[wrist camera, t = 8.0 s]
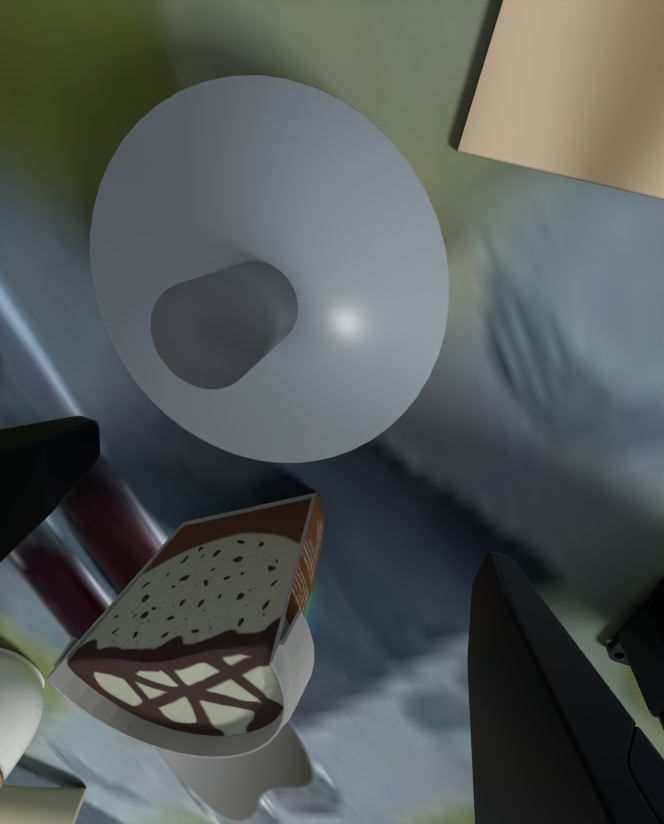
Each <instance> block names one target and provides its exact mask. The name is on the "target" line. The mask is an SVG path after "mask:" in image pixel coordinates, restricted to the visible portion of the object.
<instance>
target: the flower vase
mask: <svg viewBox="0 0 664 824" xmlns="http://www.w3.org/2000/svg"><path fill="white" fill-rule="evenodd" d="M86 788H87V787H33V786H17V785H5V784H3V785H2V787H1V788H0V824H75V821H76V819H77V816H78V813H79V811H80V808H81V805H82V802H83V799H84V796H85V793H86Z"/></svg>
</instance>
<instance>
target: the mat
mask: <svg viewBox="0 0 664 824" xmlns="http://www.w3.org/2000/svg"><path fill="white" fill-rule="evenodd" d="M457 152H462V153H466V154H470V155H475V156H479V157H483V158H487V159H492V160H496V161H500V162H505V163H509V164H513V165H517V166H522V167H526V168H530V169H535V170H539V171H543V172H547V173H552V174H556V175H560V176H564V177H569V178H573V179H577V180H582V181H586V182H590V183H594V184H599V185H603V186H607V187H612V188H616V189H620V190H624V191H629V192H633V193H637V194H641V195H646V196H650V197H654V198H659V199H663V200H664V0H503V2H502V6H501V9H500V12H499V16H498V19H497V22H496V25H495V29H494V32H493V35H492V39H491V42H490V45H489V48H488V52H487V55H486V58H485V62H484V65H483V68H482V72H481V75H480V78H479V81H478V85H477V88H476V91H475V95H474V98H473V101H472V104H471V108H470V111H469V114H468V118H467V121H466V124H465V128H464V131H463V134H462V137H461V141H460V144H459V147H458V151H457Z"/></svg>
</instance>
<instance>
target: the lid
mask: <svg viewBox="0 0 664 824" xmlns="http://www.w3.org/2000/svg"><path fill="white" fill-rule="evenodd" d="M90 264H91V274H92V282H93V287H94V292H95V296H96V301H97V305H98V308H99V311H100V314H101V317H102V320H103V323H104V326H105V329H106V331H107V333H108V335H109V338H110V340H111V342H112V344H113V346H114V348H115V350H116V352H117V354H118V355H119V357H120V359H121V361H122V362H123V364H124V366H125V367H126V369H127V370H128V372H129V373H130V375H131V376H132V377H133V379H134V380H135V382H136V383H137V384H138V386H139V387H140V388H141V389H142V390H143V391H144V393H145V394H146V395H147V396H148V397H149V398H150V399H151V401H152V402H153V403H155V404H156V405H157V406H158V407H159V408H160V409H161V410H162V411H163V412H164V413H165V414H166V415H167V416H168V417H170V418H171V419H172V420H174V421H175V422H176V423H177V424H179V425H180V426H181V427H183V428H184V429H186V430H187V431H189V432H190V433H192V434H193V435H195V436H197V437H198V438H200V439H202V440H204V441H206V442H208V443H210V444H212V445H214V446H216V447H218V448H220V449H223V450H225V451H228V452H231V453H233V454H236V455H239V456H243V457H247V458H251V459H255V460H261V461H269V462H276V463H300V462H310V461H317V460H322V459H326V458H331V457H335V456H337V455H340V454H343V453H346V452H348V451H351V450H353V449H355V448H357V447H359V446H361V445H363V444H365V443H367V442H369V441H371V440H372V439H374V438H375V437H376V436H378V435H379V434H381V433H382V432H383V431H385V430H386V429H388V428H389V427H390V426H391V425H392V424H393V423H394V422H395V421H396V420H397V419H398V418H399V417H401V416H402V415H403V414H404V412H405V411H406V410H407V409H408V408H409V406H410V405H411V404H412V403H413V401H414V400H415V399H416V398H417V396H418V395H419V393H420V391H421V390H422V388H423V386H424V385H425V383H426V382H427V380H428V378H429V376H430V374H431V372H432V369H433V367H434V365H435V363H436V360H437V358H438V356H439V352H440V349H441V345H442V342H443V338H444V334H445V331H446V324H447V316H448V309H449V272H448V264H447V256H446V249H445V245H444V241H443V237H442V233H441V230H440V226H439V222H438V219H437V216H436V214H435V211H434V209H433V207H432V204H431V202H430V199H429V197H428V194H427V192H426V191H425V189H424V187H423V186H422V184H421V182H420V180H419V179H418V177H417V175H416V174H415V172H414V170H413V168H412V167H411V166H410V164H409V163H408V162H407V160H406V159H405V158H404V157H403V155H402V154H401V153H400V151H399V150H398V149H397V148H396V146H395V145H394V144H393V143H392V141H391V140H390V139H389V138H387V137H386V136H385V135H384V134H383V133H382V132H381V131H380V130H379V129H378V128H377V127H376V126H375V125H374V124H373V123H372V122H371V121H370V120H369V119H367V118H366V117H364V116H363V115H362V114H360V113H359V112H357V111H356V110H355V109H353V108H352V107H350V106H349V105H348V104H346V103H345V102H343V101H341V100H339V99H337V98H335V97H333V96H331V95H329V94H327V93H325V92H323V91H321V90H319V89H317V88H314V87H311V86H308V85H305V84H302V83H299V82H295V81H292V80H289V79H283V78H276V77H269V76H262V75H245V76H228V77H223V78H218V79H214V80H209V81H204V82H202V83H199V84H197V85H194V86H191V87H189V88H186V89H184V90H181V91H179V92H177V93H176V94H174V95H173V96H171V97H169V98H168V99H166V100H164V101H163V102H161V103H160V104H158V105H157V106H155V107H154V108H153V109H152V110H151V111H150V112H149V113H147V114H146V115H145V116H144V117H143V118H142V119H141V120H139V121H138V122H137V124H136V125H135V126H134V127H133V128H132V130H131V131H130V132H129V133H128V134H127V136H126V137H125V138H124V139H123V141H122V142H121V144H120V145H119V147H118V149H117V150H116V152H115V154H114V155H113V157H112V159H111V160H110V162H109V164H108V166H107V169H106V171H105V174H104V176H103V179H102V181H101V183H100V186H99V189H98V193H97V197H96V201H95V205H94V209H93V215H92V223H91V231H90Z"/></svg>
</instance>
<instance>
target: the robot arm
mask: <svg viewBox="0 0 664 824" xmlns="http://www.w3.org/2000/svg"><path fill="white" fill-rule="evenodd" d="M99 454H100V436H99V425H98V423H97V422H96V421H95V420H92V419H89V418H86V417H83V416H74V417H68V418H62V419H56V420H51V421H45V422H39V423H34V424H28V425H22V426H16V427H11V428H5V429H0V562H1V561H2V560H3V559H4V558H5V557H6V556H7V555H8V554H9V553H11V552H12V551H13V550H14V549H15V548H16V547H17V546H18V545H19V544H20V543H21V542H22V541H23V540H24V539H25V538H26V537H27V536H28V535H29V534H30V533H31V532H32V531H33V530H34V529H35V528H37V527H38V526H39V525H40V524H41V523H42V522H43V521H44V520H45V519H46V518H47V517H48V516H49V515H50V514H51V513H52V512H53V511H54V509H55V508H56V507H57V506H58V505H59V504H60V503H61V502H62V501H63V499H64V498H65V497H66V496H67V495H68V494H69V492H70V491H71V490H72V489H73V488H74V486H75V485H76V484H77V483H78V482H79V481H80V479H81V478H82V477H83V476H84V475H85V474H86V472H87V471H88V470H89V469H90V468H91V467H92V465H93V464H94V463H95V462H96V460H97V459H98V457H99ZM606 649H607V653H608V655H609V657H610V659H612V660H614V661H616V662H619V663H622V664H625V665H628V666H630V667H631V669H632V671H633V674H634V676H635V678H636V681H637V683H638V686H639V688H640V690H641V693H642V695H643V697H644V700H645V702H646V705H647V707H648V709H649V711H650V713H651V714H652V716H654V717H657V718H659V720H660V723H661V725H662V727H663V729H664V579H663V580H662V582H661V583H660V584H659V585H658V586H657V588H656V589H655V590H654V591H653V592H652V593H651V595H650V596H649V597H648V598H647V599H646V601H645V602H644V603H643V604H642V605H641V606H640V608H639V609H638V610H637V611H636V612H635V614H634V615H633V616H632V617H631V618H630V620H629V621H628V622H627V623H626V624H625V625H624V627H623V628H622V629H621V630H620V631H619V633H618V634H617V635H616V636H615V637H614V638H613V640H612V641H611V642H610V643H609V644H608V646H607V648H606ZM468 686H469V707H470V728H471V749H472V769H473V790H474V811H475V824H664V759H663V758H662V757H661V755H660V754H659V753H658V751H657V750H656V749H655V747H654V746H653V745H652V743H651V742H650V741H649V739H648V738H647V737H646V735H645V734H644V733H643V731H642V730H641V729H640V728H639V727H635V726H636V723H635V721H634V720H633V718H632V717H631V716H630V714H629V713H628V712H627V710H626V709H625V708H624V706H623V705H622V704H621V702H620V701H619V700H618V698H617V697H616V696H615V694H614V693H613V692H612V691H611V689H610V688H609V687H608V685H607V684H606V683H605V681H604V680H603V679H602V677H601V676H600V675H599V673H598V672H597V671H596V669H595V668H594V667H593V665H592V664H591V663H590V661H589V660H588V659H587V657H586V656H585V655H584V653H583V652H582V651H581V649H580V648H579V647H578V645H577V644H576V643H575V641H574V640H573V639H572V637H571V636H570V635H569V633H568V632H567V631H566V629H565V628H564V627H563V625H562V624H561V623H560V621H559V620H558V619H557V617H556V616H555V615H554V613H553V612H552V611H551V610H550V608H549V607H548V606H547V604H546V603H545V602H544V600H543V599H542V598H541V596H540V595H539V594H538V592H537V591H536V590H535V588H534V587H533V586H532V584H531V583H530V582H529V580H528V579H527V578H526V576H525V575H524V574H523V572H522V571H521V570H520V568H519V567H518V566H517V564H516V563H515V562H514V560H513V559H512V558H511V557H509V556H507V555H504V554H501V553H497V552H494V551H492V552H489V553H488V554H487V556H486V558H485V560H484V561H483V563H482V565H481V567H480V569H479V571H478V573H477V575H476V576H475V579H474V582H473V586H472V597H471V612H470V627H469V642H468Z"/></svg>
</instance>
